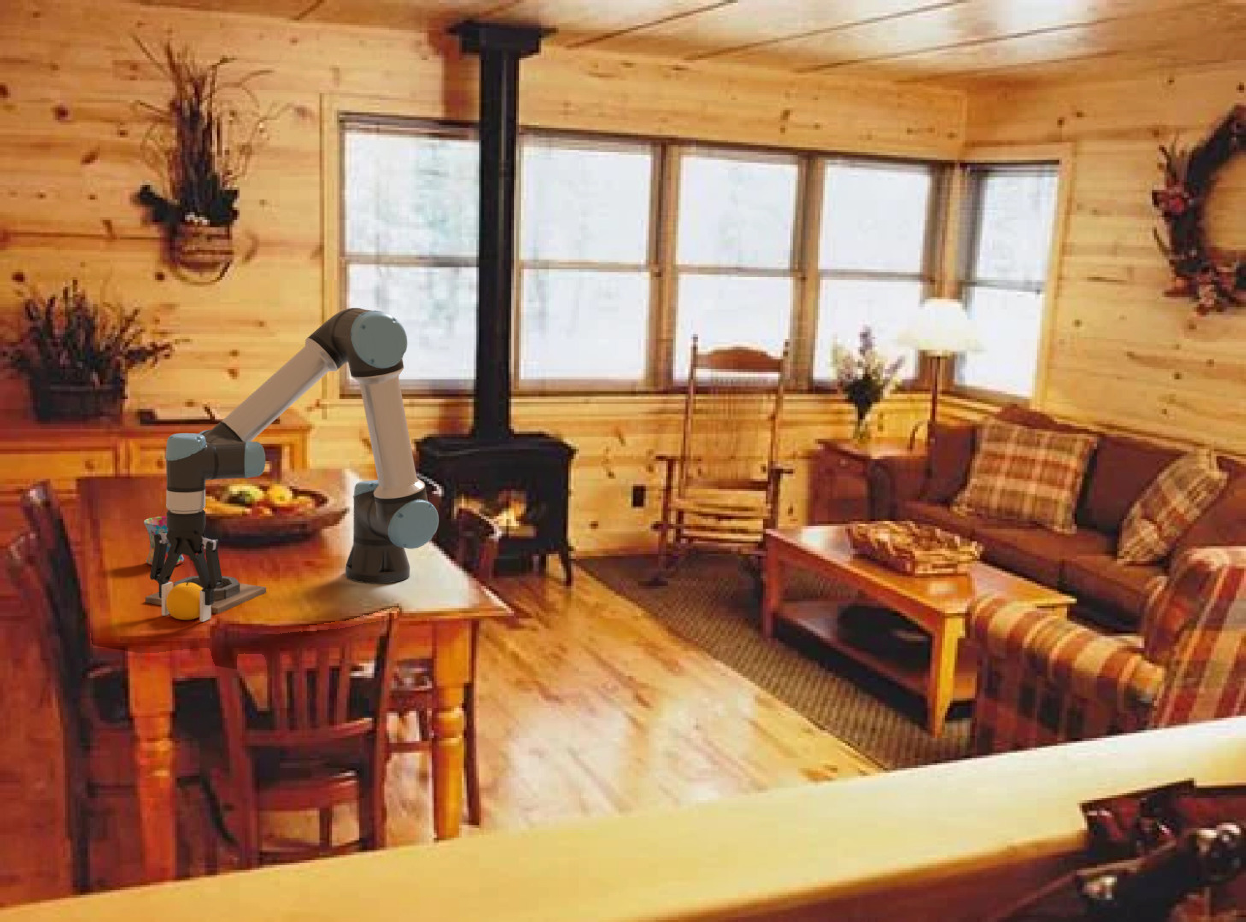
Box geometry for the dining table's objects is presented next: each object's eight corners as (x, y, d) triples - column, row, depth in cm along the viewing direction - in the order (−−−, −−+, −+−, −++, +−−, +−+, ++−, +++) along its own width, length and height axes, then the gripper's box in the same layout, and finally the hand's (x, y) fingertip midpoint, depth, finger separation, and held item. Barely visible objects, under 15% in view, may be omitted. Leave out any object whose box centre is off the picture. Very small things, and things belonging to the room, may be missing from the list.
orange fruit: (158, 619, 254) (157, 584, 253) (184, 610, 261) (184, 575, 260) (189, 625, 251) (189, 590, 250) (215, 615, 258) (215, 581, 257)
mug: (147, 570, 289) (147, 526, 288) (141, 560, 297) (141, 517, 295) (201, 566, 295) (200, 522, 293) (193, 556, 303) (193, 514, 301)
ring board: (266, 592, 277) (266, 578, 276) (218, 613, 260) (218, 598, 259) (196, 582, 282) (196, 568, 281) (145, 602, 265) (145, 588, 264)
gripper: (242, 512, 253) (241, 618, 257) (153, 500, 259) (154, 605, 262) (220, 518, 246) (220, 628, 249) (129, 507, 251) (130, 614, 255)
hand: (186, 616), depth 256 cm, fingers open, 8 cm apart
